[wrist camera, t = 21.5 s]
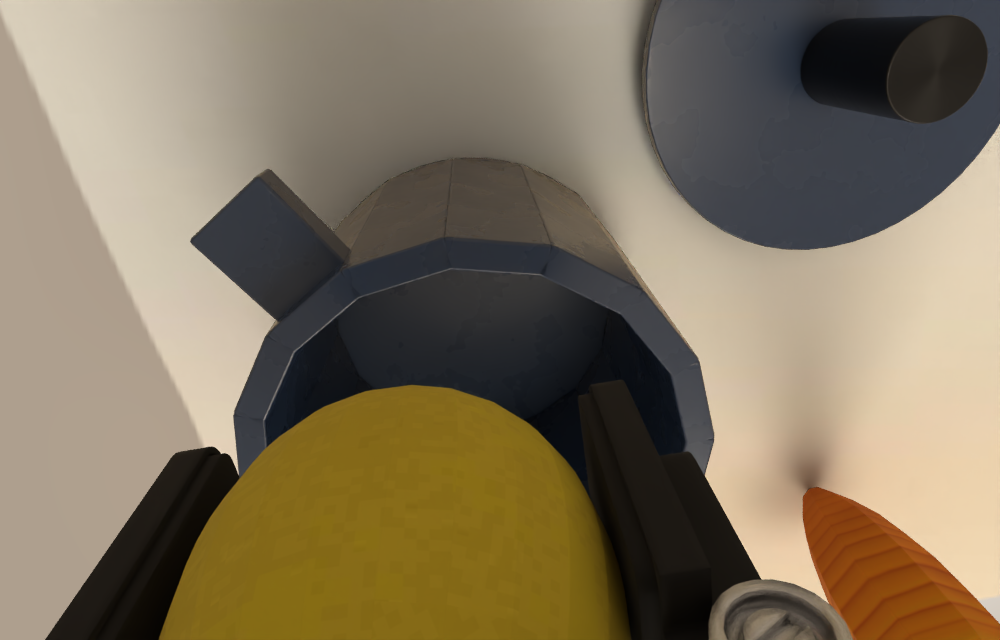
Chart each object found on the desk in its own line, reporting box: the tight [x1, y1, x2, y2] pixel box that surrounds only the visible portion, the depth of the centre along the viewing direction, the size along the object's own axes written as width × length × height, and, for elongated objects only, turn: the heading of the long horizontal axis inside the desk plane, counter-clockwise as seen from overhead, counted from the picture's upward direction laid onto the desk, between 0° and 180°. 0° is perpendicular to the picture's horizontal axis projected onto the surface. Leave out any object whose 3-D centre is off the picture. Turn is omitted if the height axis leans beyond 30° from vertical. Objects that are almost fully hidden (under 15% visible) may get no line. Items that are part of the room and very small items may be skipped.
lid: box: [642, 0, 1000, 250], centre depth 20 cm, size 14×14×6 cm
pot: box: [190, 158, 714, 498], centre depth 22 cm, size 13×18×10 cm
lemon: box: [159, 385, 631, 640], centre depth 8 cm, size 6×6×8 cm
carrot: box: [803, 487, 1000, 640], centre depth 25 cm, size 5×5×15 cm
